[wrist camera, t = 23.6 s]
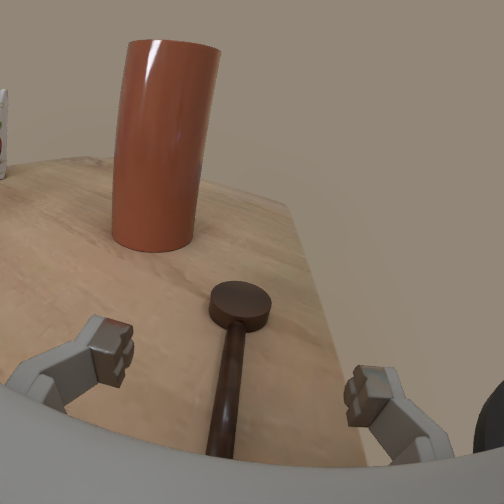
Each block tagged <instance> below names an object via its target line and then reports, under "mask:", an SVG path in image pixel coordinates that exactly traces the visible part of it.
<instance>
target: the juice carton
mask: <svg viewBox="0 0 504 504" xmlns="http://www.w3.org/2000/svg"><path fill="white" fill-rule="evenodd" d="M7 114H8V94H7V90H6V89H2V90H0V179H4V177H5V172H6V167H7Z"/></svg>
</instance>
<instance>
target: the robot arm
mask: <svg viewBox="0 0 504 504" xmlns="http://www.w3.org/2000/svg"><path fill="white" fill-rule="evenodd" d="M132 335H133V326H132V325H130V324H126V323H123V322H119V321H116V320H113V319H109V318H105V317H102V316H99V315H96V314H95V315H93V316H91V318H90V319H89V320H88V322H87V323H86V325H85V326H84V328H83V329H82V330H81V332H80V333H79V335H78V336H77V338H76V339H75V341H74V342H73V341H69V342H66V343H64V344H62V345H60V346H57V347H55V348H53V349H51V350H48V351H46V352H44V353H41V354H39V355H37V356H35V357H32V358H30V359H28V360H25V361H23V362H21V363H20V364H19V365H18V367H17V368H16V369H15V371H14V372H13V374H12V375H11V376H10V378H9V379H8V381H7V382H6V384H5V385H3V384H1V383H0V504H504V446H503V447H500V448H496V449H492V450H488V451H483V452H479V453H474V454H470V455H465V456H460V457H455V455H454V452H453V449H452V446H451V444H450V441H449V438H448V435H447V433H446V432H445V431H444V430H443V429H442V428H440V427H439V426H438V425H437V424H436V423H435V422H434V421H433V420H431V418H429V417H428V416H427V415H426V414H425V413H424V412H423V411H422V410H421V409H420V408H418V407H417V406H416V405H415V404H414V403H413V402H412V401H411V400H410V399H406V397H405V394H404V391H403V388H402V386H401V383H400V380H399V377H398V375H397V372H396V370H395V368H394V367H376V366H363V365H358V366H357V367H356V368H355V369H354V371H353V375H354V377H353V378H351V379H349V380H348V382H347V384H346V385H345V389H344V403H345V404H346V406H347V407H348V408H349V409H348V410H347V412H346V416H347V421H348V427H368V428H369V430H370V431H371V433H372V434H373V435H374V437H375V438H376V439H377V441H378V442H379V443H380V445H381V446H382V447H383V449H384V450H385V451H386V452H387V454H388V455H389V456H390V458H391V459H392V460H393V461H392V462H391V463H390V464H389V465H388V466H376V467H375V466H374V467H303V466H287V465H274V464H264V463H255V462H247V461H239V460H232V459H226V458H220V457H214V456H208V455H203V454H198V453H193V452H188V451H183V450H179V449H174V448H170V447H166V446H162V445H158V444H154V443H150V442H147V441H143V440H140V439H136V438H133V437H129V436H126V435H123V434H120V433H116V432H113V431H110V430H107V429H104V428H102V427H99V426H96V425H93V424H90V423H88V422H85V421H82V420H80V419H77V418H74V417H72V416H69V415H67V413H66V410H65V408H64V406H66V405H67V404H69V403H70V402H72V401H73V400H74V399H76V398H77V397H79V396H80V395H82V394H83V393H85V392H86V391H88V390H89V389H91V388H92V387H94V386H95V385H97V384H98V383H102V384H105V385H109V386H112V387H116V388H120V386H121V384H122V381H123V379H124V377H125V369H126V368H128V367H129V366H130V364H131V362H132V358H133V354H134V342H133V341H132V339H131V337H132Z"/></svg>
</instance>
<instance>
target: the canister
mask: <svg viewBox="0 0 504 504" xmlns="http://www.w3.org/2000/svg"><path fill="white" fill-rule="evenodd" d="M220 56H221V51H220V50H218V49H216V48H213V47H210V46H206V45H201V44H196V43H190V42H184V41H174V40H137V41H132V42H130V43H129V44H128V49H127V55H126V61H125V67H124V73H123V80H122V86H121V95H120V101H119V110H118V119H117V128H116V140H115V152H114V168H113V189H112V236H113V238H114V239H115V240H116V241H117V242H118V243H119V244H121V245H123V246H125V247H127V248H130V249H133V250H137V251H143V252H167V251H172V250H176V249H179V248H182V247H184V246H186V245H187V244H188V243H190V241H191V240H192V238H193V231H194V222H195V214H196V206H197V198H198V191H199V183H200V176H201V169H202V162H203V155H204V148H205V142H206V136H207V129H208V123H209V117H210V111H211V105H212V99H213V94H214V88H215V83H216V78H217V72H218V67H219V62H220Z"/></svg>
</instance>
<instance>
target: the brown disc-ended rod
mask: <svg viewBox="0 0 504 504" xmlns="http://www.w3.org/2000/svg"><path fill="white" fill-rule="evenodd" d="M271 304H272V303H271V299H270V297H269V295H268V294H267V293H266V292H265V291H264V290H263V289H261V288H259V287H258V286H256V285H253V284H250V283H247V282H242V281H227V282H223V283H220V284H218V285H217V286H215V287H214V288H213V290H212V292H211V297H210V304H209V314H210V316H211V318H212V319H213V321H214V322H215V323H217V324H218V325H219V326H221V327H223V328H225V329H227V332H226V337H225V343H224V349H223V355H222V360H221V366H220V372H219V378H218V384H217V389H216V395H215V401H214V407H213V413H212V419H211V425H210V431H209V437H208V443H207V449H206V455H208V456H214V457H220V458H226V459H232V460H233V451H234V442H235V432H236V422H237V413H238V403H239V393H240V384H241V374H242V364H243V355H244V345H245V335H246V333H247V332H253V331H257V330H259V329H261V328H262V327H263V326H264V325H265V324H266V322H267V320H268V316H269V312H270V309H271Z"/></svg>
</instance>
